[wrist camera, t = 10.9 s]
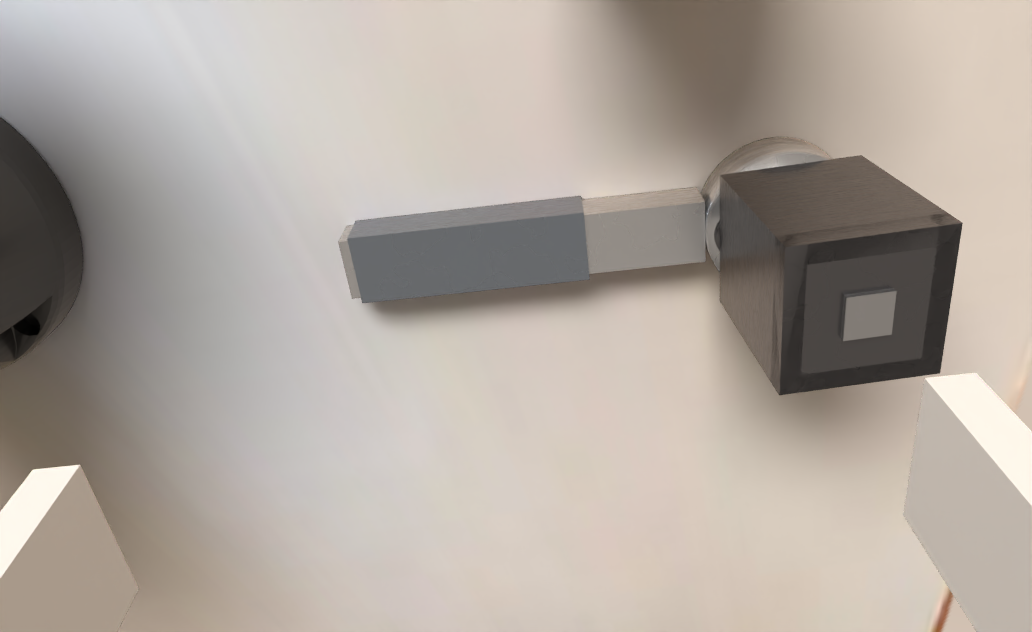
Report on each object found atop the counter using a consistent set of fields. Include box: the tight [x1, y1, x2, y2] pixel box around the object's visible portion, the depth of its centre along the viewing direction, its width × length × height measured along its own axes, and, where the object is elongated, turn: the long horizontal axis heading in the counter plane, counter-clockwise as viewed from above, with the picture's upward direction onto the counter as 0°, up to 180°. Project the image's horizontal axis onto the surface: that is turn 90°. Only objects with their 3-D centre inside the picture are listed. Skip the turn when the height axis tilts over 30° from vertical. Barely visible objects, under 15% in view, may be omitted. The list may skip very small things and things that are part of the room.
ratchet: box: [338, 137, 832, 303], centre depth 37 cm, size 24×7×6 cm, turn 97°
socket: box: [720, 155, 962, 395], centre depth 33 cm, size 6×6×8 cm
